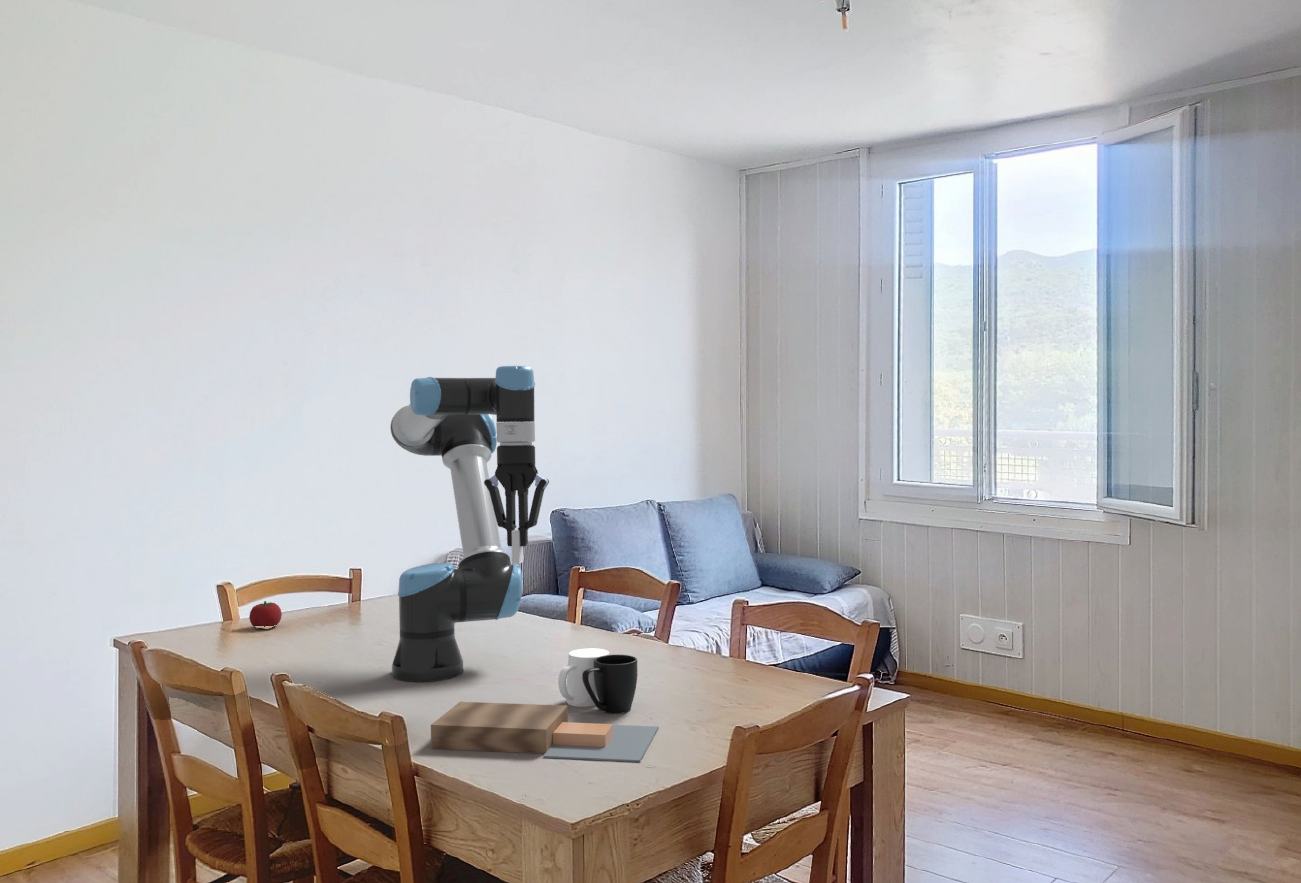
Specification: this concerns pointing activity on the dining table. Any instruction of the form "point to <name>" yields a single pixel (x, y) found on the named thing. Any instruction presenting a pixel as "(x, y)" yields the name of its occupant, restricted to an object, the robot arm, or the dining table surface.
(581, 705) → the mug
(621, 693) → the mug
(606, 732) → the tile
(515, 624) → the dining table surface
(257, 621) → the tomato
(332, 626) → the dining table surface
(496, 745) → the block
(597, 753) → the mat
